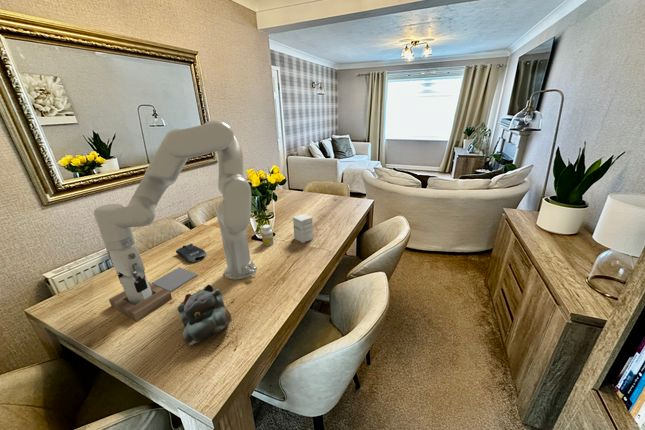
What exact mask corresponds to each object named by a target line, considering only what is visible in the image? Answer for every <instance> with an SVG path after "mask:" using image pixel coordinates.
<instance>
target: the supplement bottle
mask: <svg viewBox="0 0 645 430" xmlns="http://www.w3.org/2000/svg"><path fill="white" fill-rule="evenodd" d="M261 229H262V230H261V238H262V245H263V246H265V247H267V246H271V245H273V244H274V234H273V233H274V232H273V230H272V227H271V224H264V225H262V227H261Z"/></svg>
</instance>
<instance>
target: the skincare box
mask: <svg viewBox="0 0 645 430" xmlns="http://www.w3.org/2000/svg"><path fill="white" fill-rule="evenodd" d="M134 273H136V271H135V272H133V273H132V274H134ZM138 276H139V274H138V275H136V276H135V277H136V278H138ZM145 278H146V279H145V280H146V283H147V287H148V288H147V289H145V290H143V291H141V292H140V293H137V291H136V288H135V285H134V283H135V281H134V280H133V278H132V277H128V276H126V275H123V276H122V277H121V278H119V277H118V280H119V283H120V282H121V283H120V284H121V286H122V289H123V290H124V291H125V293H126V295H127V297H128V300H129V302H130V303H131V304H133V305H137V304H138V303H140V302H142V301H143V300H145V299H147V298H148V297H150V296H152V295H153V294H152V291H151V288H150V286H149V283H150V282H149V280H148V279H147V275H146V274H145ZM148 282H149V283H148Z"/></svg>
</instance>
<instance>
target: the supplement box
mask: <svg viewBox="0 0 645 430" xmlns="http://www.w3.org/2000/svg"><path fill="white" fill-rule="evenodd" d="M292 220H293V224H292V225H293V237H294V239H295V240H297V242H298V241H299V243H301V244H304V243H307V242H308V241H311V240H313V239H314V232H313V231H314V230H313V226H314V225H313V217H312V216H310V215H307V214H305V213H302V214H298V215H295V216H293V217H292ZM306 241H307V242H306Z"/></svg>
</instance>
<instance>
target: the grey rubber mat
mask: <svg viewBox="0 0 645 430" xmlns="http://www.w3.org/2000/svg"><path fill="white" fill-rule="evenodd" d="M198 276H199V275H198V273H195V272H193V271H190V270H187V269H185V268H183V267H177V268H175V269H173V270H172V271H170V272H168V273H166V274H164V275H163V276H161V277H159V278H158V279H155V280H154V281H151V284H154V285H156V286H158V287H160V288H162V289H164V290H167V291H169V292H170V293H172V292H173V291H175V290H177V289H178V288H180V287H181V286H183V285H185V284H186V283H188V282H190V281H192V279H195V278H196V277H198Z"/></svg>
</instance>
